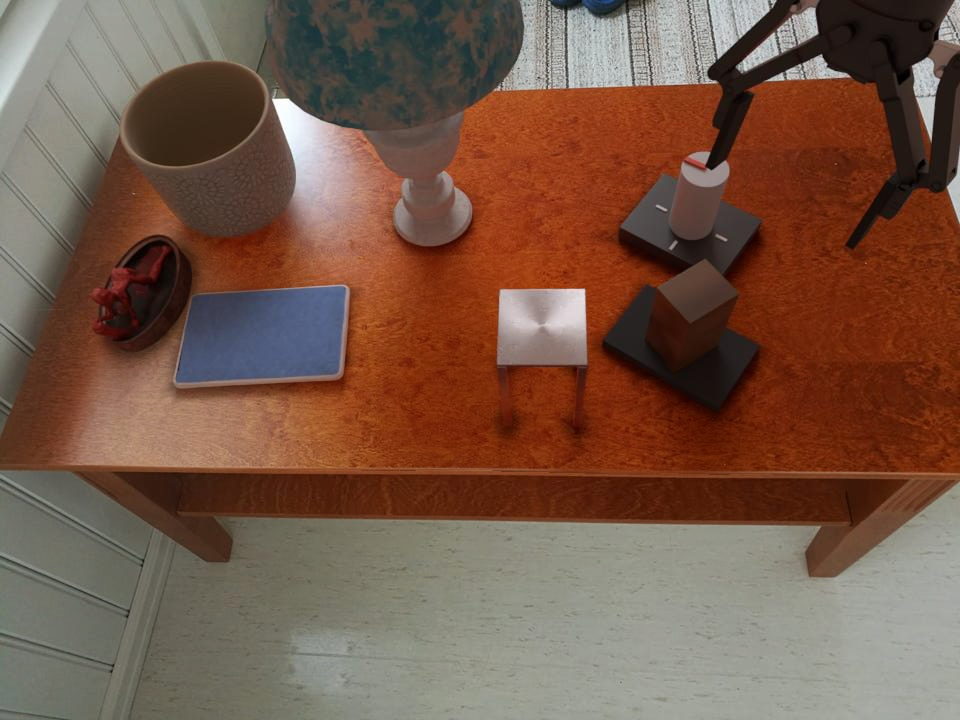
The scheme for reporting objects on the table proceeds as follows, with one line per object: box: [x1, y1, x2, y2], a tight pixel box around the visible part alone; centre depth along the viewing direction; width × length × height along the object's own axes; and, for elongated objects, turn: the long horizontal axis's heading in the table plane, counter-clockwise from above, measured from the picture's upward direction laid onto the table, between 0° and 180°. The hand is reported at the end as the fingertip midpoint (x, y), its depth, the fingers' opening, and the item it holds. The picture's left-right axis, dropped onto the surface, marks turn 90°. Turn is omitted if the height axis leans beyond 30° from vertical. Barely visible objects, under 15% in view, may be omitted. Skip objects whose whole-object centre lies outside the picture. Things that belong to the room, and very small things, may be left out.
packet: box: [645, 259, 741, 372], centre depth 75 cm, size 5×6×10 cm
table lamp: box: [264, 0, 525, 247], centre depth 74 cm, size 24×24×40 cm
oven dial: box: [669, 151, 731, 240], centre depth 82 cm, size 5×5×9 cm
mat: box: [601, 283, 761, 413], centre depth 80 cm, size 14×9×1 cm, turn 53°
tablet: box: [172, 284, 351, 390], centre depth 85 cm, size 19×13×1 cm, turn 91°
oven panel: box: [617, 172, 763, 278], centre depth 87 cm, size 13×10×2 cm
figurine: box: [91, 233, 193, 353], centre depth 86 cm, size 15×10×10 cm, turn 4°
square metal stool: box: [496, 288, 589, 428], centre depth 73 cm, size 8×8×14 cm
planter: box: [118, 59, 297, 239], centre depth 88 cm, size 17×17×15 cm
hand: (782, 200), depth 64 cm, fingers open, 13 cm apart
